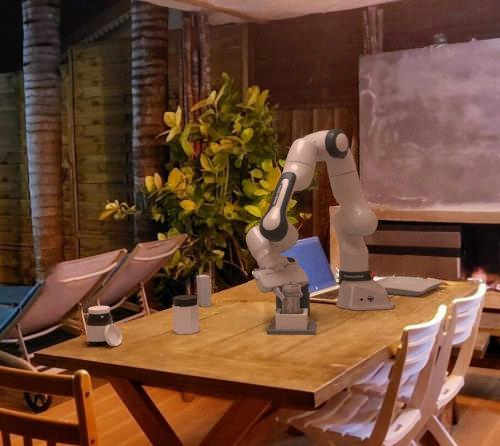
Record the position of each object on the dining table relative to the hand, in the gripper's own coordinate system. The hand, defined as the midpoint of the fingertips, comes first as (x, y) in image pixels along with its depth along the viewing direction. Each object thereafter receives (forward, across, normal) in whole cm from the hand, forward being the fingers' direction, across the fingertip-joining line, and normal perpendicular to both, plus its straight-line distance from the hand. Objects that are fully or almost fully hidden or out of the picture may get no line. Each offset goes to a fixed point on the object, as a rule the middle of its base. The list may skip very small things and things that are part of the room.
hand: (292, 298), depth 242 cm
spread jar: (-11, -56, +27) cm, 64 cm away
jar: (-8, -28, +24) cm, 38 cm away
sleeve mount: (+7, 0, +8) cm, 11 cm away
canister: (-4, +14, +19) cm, 24 cm away
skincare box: (-31, +2, +47) cm, 57 cm away
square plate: (-7, +83, +23) cm, 86 cm away
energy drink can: (+6, 0, +8) cm, 10 cm away
